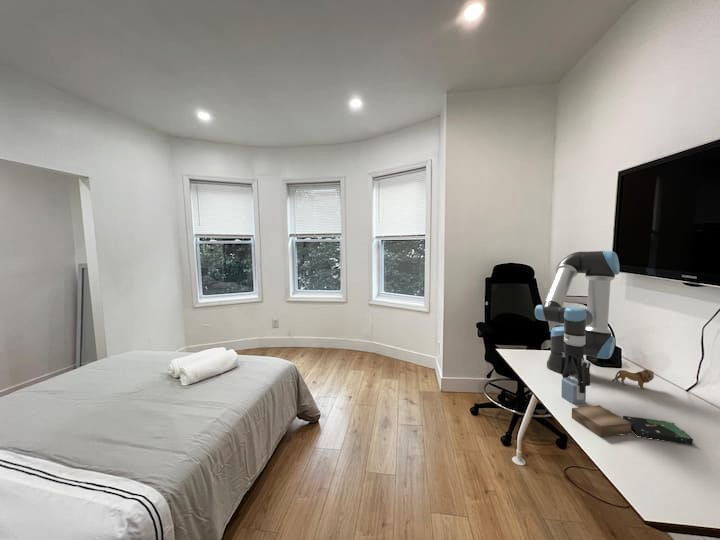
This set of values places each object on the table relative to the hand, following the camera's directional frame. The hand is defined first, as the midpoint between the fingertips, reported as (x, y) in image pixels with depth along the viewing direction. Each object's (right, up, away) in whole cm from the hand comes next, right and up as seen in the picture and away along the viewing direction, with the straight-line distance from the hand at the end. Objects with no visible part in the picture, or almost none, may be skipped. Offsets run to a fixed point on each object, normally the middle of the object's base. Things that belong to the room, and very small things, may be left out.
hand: (573, 395), depth 126 cm
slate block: (0, -2, 0) cm, 2 cm away
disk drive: (+12, -4, -23) cm, 26 cm away
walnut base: (-4, -3, -18) cm, 19 cm away
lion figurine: (+37, -1, +11) cm, 39 cm away
